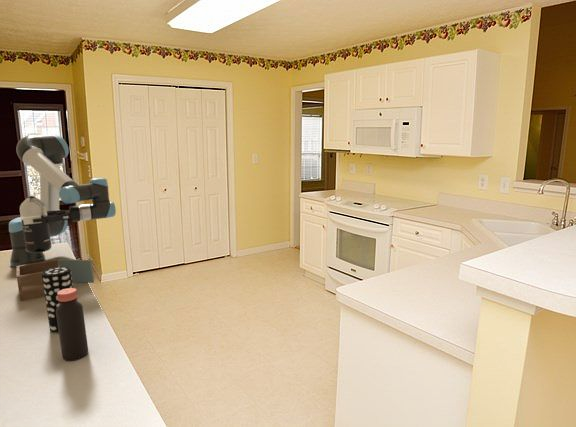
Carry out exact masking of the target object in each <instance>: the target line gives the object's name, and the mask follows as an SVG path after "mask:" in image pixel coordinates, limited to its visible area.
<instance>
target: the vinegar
mask: <svg viewBox="0 0 576 427" xmlns="http://www.w3.org/2000/svg"><path fill="white" fill-rule="evenodd" d="M77 290H78V289H77V288H75V287H73V288H67V289H63V290H60V291H59V292H57V296H58V302H59V303H60V305H59V306H58V307H57V309H56V317H57V324H58V330H59V333H58V337H59V344H60V351H61V357H62V359H63V360H64V361H68V362H74V361H77V360H80V359H83V358H84V357H86V356H87V355H88V352H89V346H88V337H87V330H86V323H85V322H86V321H85V314H84V307H83V304H82V303H81V302H79V301H78V291H77Z"/></svg>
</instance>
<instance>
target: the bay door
mask: <svg viewBox="0 0 576 427" xmlns="http://www.w3.org/2000/svg"><path fill="white" fill-rule="evenodd" d="M58 263H59V267H70V268H71V275H72V282H73V283H87V282H88V284H90V283H91V284H94V283H95V276H94V267H93V261H92V260H91V259H73V258H72V259H71V258H60V259H59V260H58Z"/></svg>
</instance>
